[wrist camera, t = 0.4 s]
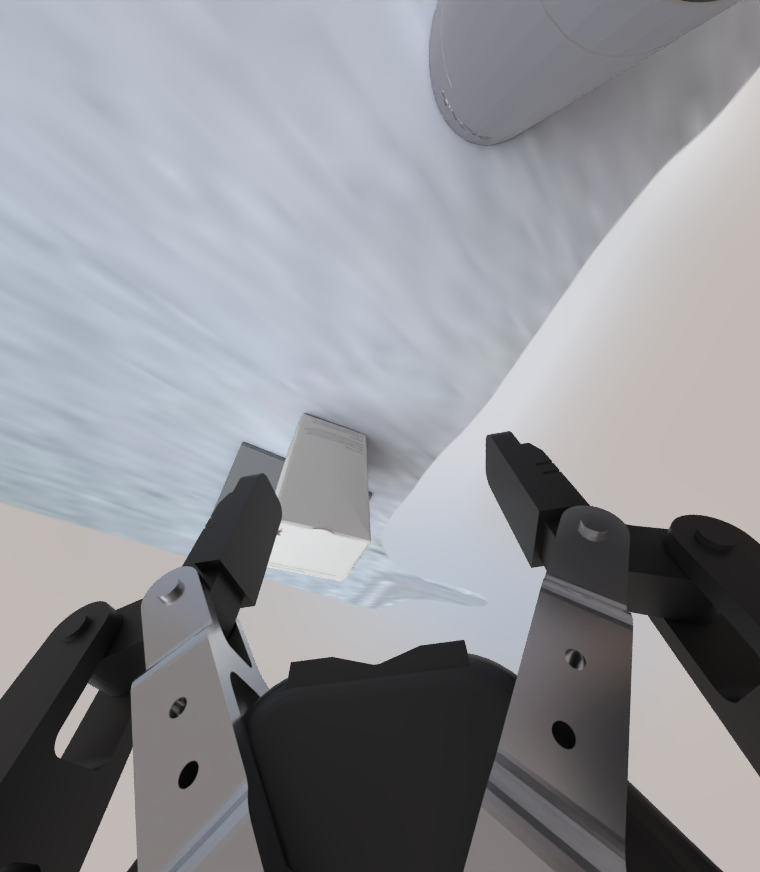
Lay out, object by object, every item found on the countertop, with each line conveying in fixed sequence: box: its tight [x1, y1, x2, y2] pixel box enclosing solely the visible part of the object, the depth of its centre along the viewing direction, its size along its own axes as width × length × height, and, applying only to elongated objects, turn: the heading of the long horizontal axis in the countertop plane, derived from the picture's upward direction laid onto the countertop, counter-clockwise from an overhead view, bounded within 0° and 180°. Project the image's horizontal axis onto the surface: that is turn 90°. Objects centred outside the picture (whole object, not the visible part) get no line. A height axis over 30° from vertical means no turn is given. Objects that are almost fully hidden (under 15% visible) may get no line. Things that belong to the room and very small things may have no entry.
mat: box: [210, 442, 372, 519], centre depth 43 cm, size 16×18×1 cm
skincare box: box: [267, 414, 371, 582], centre depth 31 cm, size 8×7×16 cm
